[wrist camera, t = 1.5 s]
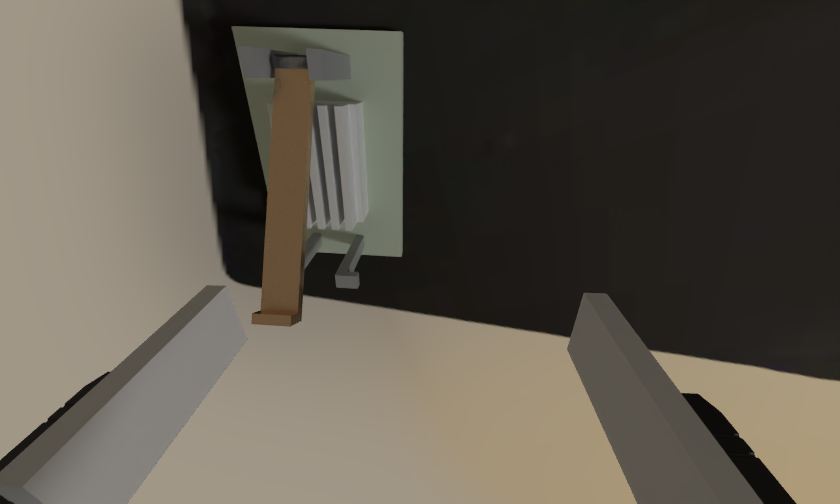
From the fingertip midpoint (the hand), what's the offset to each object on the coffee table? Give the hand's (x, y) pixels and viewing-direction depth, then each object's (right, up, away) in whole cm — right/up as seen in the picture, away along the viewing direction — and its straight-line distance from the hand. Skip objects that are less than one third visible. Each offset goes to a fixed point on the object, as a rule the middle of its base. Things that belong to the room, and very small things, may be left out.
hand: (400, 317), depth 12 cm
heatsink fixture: (-9, +13, +24) cm, 29 cm away
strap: (-10, +8, +14) cm, 19 cm away
